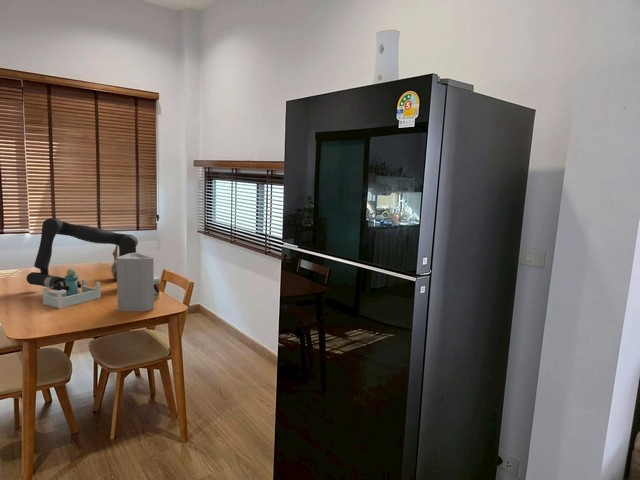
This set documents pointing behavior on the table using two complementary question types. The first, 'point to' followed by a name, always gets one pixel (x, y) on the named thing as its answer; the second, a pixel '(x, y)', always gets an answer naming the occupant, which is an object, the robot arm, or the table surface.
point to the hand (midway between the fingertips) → (74, 287)
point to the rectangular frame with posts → (72, 296)
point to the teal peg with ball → (71, 282)
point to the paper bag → (135, 282)
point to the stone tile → (54, 293)
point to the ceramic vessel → (115, 262)
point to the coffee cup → (156, 287)
